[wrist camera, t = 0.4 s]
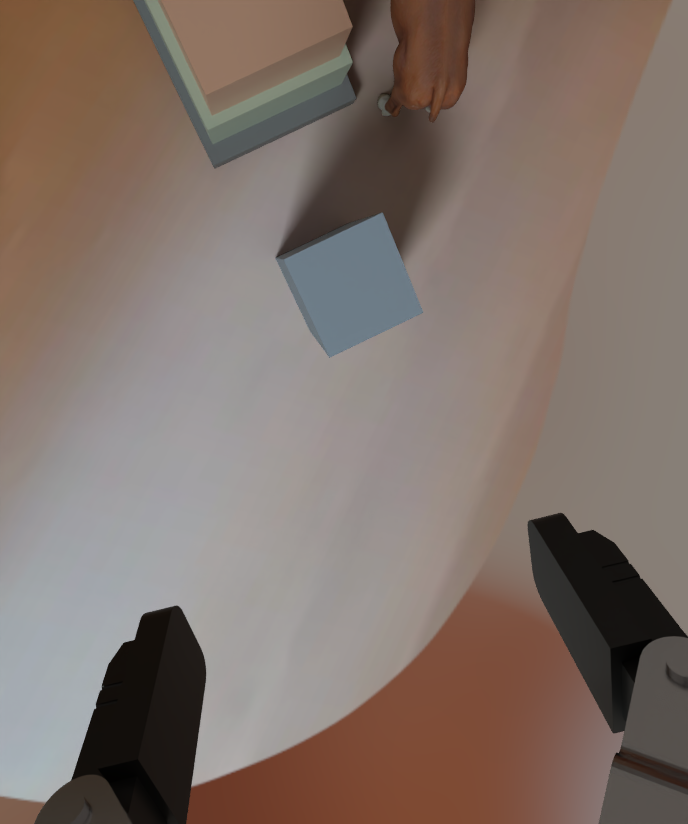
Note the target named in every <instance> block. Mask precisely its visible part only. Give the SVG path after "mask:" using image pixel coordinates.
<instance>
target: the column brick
mask: <svg viewBox="0 0 688 824" xmlns="http://www.w3.org/2000/svg"><path fill="white" fill-rule="evenodd" d="M276 260H277V262H278V264H279V266H280V269H281V271H282V273H283V275H284V277H285V279H286V281H287V283H288V286H289V288H290V290H291V292H292V294H293V296H294V298H295V300H296V302H297V305H298V307H299V309H300V311H301V313H302V315H303V317H304V319H305V322H306V324H307V326H308V328H309V330H310V332H311V333H312V335H313V336H314V337H315V339H316V340H317V341H318V343H319V344H320V345H321V347H322V348H323V349H324V351H325V352H326V354H327V355H328V356H329V358H330V357H332V356H334V355H336V354H338V353H340V352H342V351H344V350H346V349H349V348H351V347H353V346H355V345H357V344H359V343H361V342H363V341H365V340H367V339H369V338H371V337H373V336H376V335H378V334H380V333H382V332H384V331H386V330H388V329H390V328H392V327H394V326H396V325H398V324H401V323H403V322H405V321H407V320H409V319H411V318H413V317H415V316H417V315H419V314H421V313H423V311H422V308H421V306H420V303H419V301H418V298H417V296H416V293H415V291H414V289H413V286H412V284H411V281H410V279H409V276H408V274H407V271H406V269H405V266H404V264H403V261H402V259H401V257H400V254H399V252H398V249H397V247H396V244H395V242H394V239H393V237H392V234H391V232H390V229H389V227H388V225H387V222H386V220H385V217H384V215H383V212H382V213H379V214H376V215H373V216H370V217H367V218H363V219H360V220H357V221H354V222H351V223H348V224H346V225H344V226H342V227H340V228H337V229H335V230H333V231H331V232H329V233H327V234H325V235H323V236H321V237H318V238H316V239H314V240H312V241H310V242H308V243H306V244H304V245H302V246H300V247H297V248H295V249H293V250H291V251H289V252H287V253H285V254H283V255H281V256H279V257H276Z"/></svg>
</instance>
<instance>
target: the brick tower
mask: <svg viewBox="0 0 688 824" xmlns="http://www.w3.org/2000/svg"><path fill="white" fill-rule="evenodd" d="M133 1H134V3H135V5H136V7H137V9H138V11H139V13H140V15H141V17H142V19H143V21H144V24H145V26H146V28H147V30H148V32H149V34H150V36H151V38H152V40H153V42H154V44H155V46H156V48H157V51H158V53H159V55H160V57H161V59H162V61H163V63H164V65H165V67H166V69H167V71H168V73H169V75H170V78H171V80H172V82H173V84H174V86H175V88H176V90H177V92H178V94H179V96H180V98H181V100H182V102H183V104H184V107H185V109H186V111H187V113H188V115H189V117H190V119H191V121H192V123H193V125H194V127H195V129H196V131H197V134H198V136H199V138H200V140H201V142H202V144H203V146H204V148H205V150H206V152H207V154H208V156H209V158H210V161H211V163H212V165H213V167H214V169H215V168H217V167H219V166H221V165H223V164H226V163H228V162H230V161H232V160H234V159H236V158H238V157H241V156H243V155H245V154H247V153H249V152H251V151H253V150H255V149H258V148H260V147H262V146H264V145H266V144H268V143H270V142H272V141H275V140H277V139H279V138H281V137H283V136H285V135H287V134H289V133H292V132H294V131H296V130H298V129H300V128H302V127H304V126H306V125H309V124H311V123H313V122H315V121H317V120H319V119H321V118H323V117H326V116H328V115H330V114H332V113H334V112H336V111H338V110H340V109H343V108H345V107H347V106H349V105H351V104H353V103H354V101H355V100H356V96H355V93H354V91H353V88H352V86H351V83H350V81H349V78H348V76H347V72H348V71H349V69H350V67H351V65H352V63H353V61H352V59H351V56H350V54H349V51H348V48H347V46H346V41H347V38H348V36H349V34H350V32H351V29H352V27H353V26H352V23H351V21H350V18H349V15H348V13H347V10H346V8H345V5H344V2H343V0H133Z"/></svg>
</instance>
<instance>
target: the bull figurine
mask: <svg viewBox="0 0 688 824" xmlns="http://www.w3.org/2000/svg"><path fill="white" fill-rule="evenodd" d="M474 14H475V0H391V18H392V23H393V27H394V30H395V33H396V35H397V38H398V41H399V45H398V47H397V49H396V51H395V54H394V58H393V71H394V79H395V81H394V87H393V89H392V93H391V96H390V95H389V94H381V95H380V96H379V97H378V102H377V103H378V107H379V108H380V109H382V115H383V116H390V115H391V114H392V116H393V117H397V116H398V115H399V112H400V109H401V107H402V106H403V105H404V106H405V107H406V108H408V109H411V110H419V109H423V108H425V110H426V111H427V112H429V113H430V115H429V121H430V122H432V123H433V122H434V121H435V120H436V118H437V116H438V114H439V111H440V110H441V109H449V108H451V107H452V106H454V105H455V104H456V102H457V101H458V99H459V97H460V95H461V93H462V92H463V90H464V88H465V85H466V80H467V67H468V48H469V43H470V37H471V31H472V25H473V21H474Z"/></svg>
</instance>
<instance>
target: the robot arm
mask: <svg viewBox="0 0 688 824" xmlns="http://www.w3.org/2000/svg"><path fill="white" fill-rule="evenodd" d="M528 535H529V543H530V553H531V562H532V570H533V576H534V580H535V584H536V587H537V589H538V593H539V595H540V597H541V599H542V601H543V603H544V605H545V607H546V609H547V611H548V613H549V614H550V616H551V618H552V620H553V622H554V624H555V626H556V628H557V629H558V631H559V633H560V635H561V637H562V639H563V641H564V643H565V644H566V646H567V648H568V650H569V652H570V654H571V656H572V657H573V659H574V661H575V663H576V665H577V667H578V669H579V671H580V673H581V674H582V676H583V678H584V680H585V682H586V684H587V686H588V687H589V689H590V691H591V693H592V695H593V697H594V699H595V701H596V702H597V704H598V706H599V708H600V710H601V712H602V714H603V716H604V717H605V719H606V721H607V723H608V725H609V727H610V729H611V731H612V732H613V733H618V732H622V731H624V736H623V740H622V745H621V749H620V752H619V753H616V754H615V756H614V759H613V762H612V766H611V770H610V774H609V779H608V784H607V788H606V793H605V797H604V802H603V806H602V811H601V815H600V820H599V824H688V636H687V635H686V634H685V633H684V632H683V630H682V629H681V628H680V627H679V625H678V624H677V623H676V622H675V620H674V619H673V618H672V616H671V615H670V614H669V612H668V611H667V610H666V609H665V607H664V606H663V605H662V604H661V602H660V601H659V600H658V598H657V597H656V596H655V594H654V593H653V592H652V591H651V589H650V588H649V587H648V585H647V584H646V583H645V582H644V581H643V579H640V576H639V574H638V573H637V571H636V570H635V569H634V568H633V566H632V565H631V564H629V562H628V560H627V558H626V557H625V556H624V555H623V553H622V552H621V551H620V549H619V548H618V547H617V546H616V544H615V543H614V542H612V541H610V540H609V539H607V538H606V537H604V536H602V535H601V534H599V533H598V532H596V531H594V530H591V531H586V532H582V533H577V532H576V530H575V529H574V527H573V526H572V525H571V523H570V522H569V520H568V519H567V518H566V516H565V515H564V514H563V513H558V514H554V515H550V516H546V517H542V518H538V519H534V520H530V521H528ZM205 683H206V665H205V659H204V655H203V652H202V650H201V648H200V646H199V644H198V642H197V640H196V638H195V636H194V633H193V631H192V629H191V627H190V625H189V623H188V621H187V619H186V617H185V615H184V613H183V611H182V609H181V608H180V607H179V606H173V607H168V608H164V609H160V610H156V611H152V612H148V613H145V614H143V615H142V617H141V620H140V623H139V627H138V630H137V634H136V637H135V640H133V641H129V642H125V643H123V645H122V646H121V647H120V649H119V650H118V652H117V653H116V655H115V656H114V657H113V659H112V660H111V662H110V663H109V665H108V668H107V671H106V674H105V677H104V680H103V683H102V690H101V691H100V693H99V696H98V699H97V702H96V709H94V711H93V715H92V718H91V721H90V724H89V727H88V730H87V733H86V736H85V740H84V743H83V746H82V749H81V752H80V755H79V758H78V761H77V765H76V768H75V771H74V774H73V777H72V779H71V781H70V782H68V783H66V784H65V785H64V786H62V787H61V788H60V789H59V790H58V791H56V792H55V793H54V794H53V795H52V796H51V797H50V799H49V800H48V801H47V802H46V804H45V805H44V806H43V808H42V809H41V811H40V813H39V814H38V816H37V819H36V821H35V823H34V824H186V820H187V813H188V805H189V798H190V791H191V784H192V777H193V770H194V762H195V755H196V748H197V741H198V733H199V726H200V719H201V712H202V705H203V697H204V690H205Z"/></svg>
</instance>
